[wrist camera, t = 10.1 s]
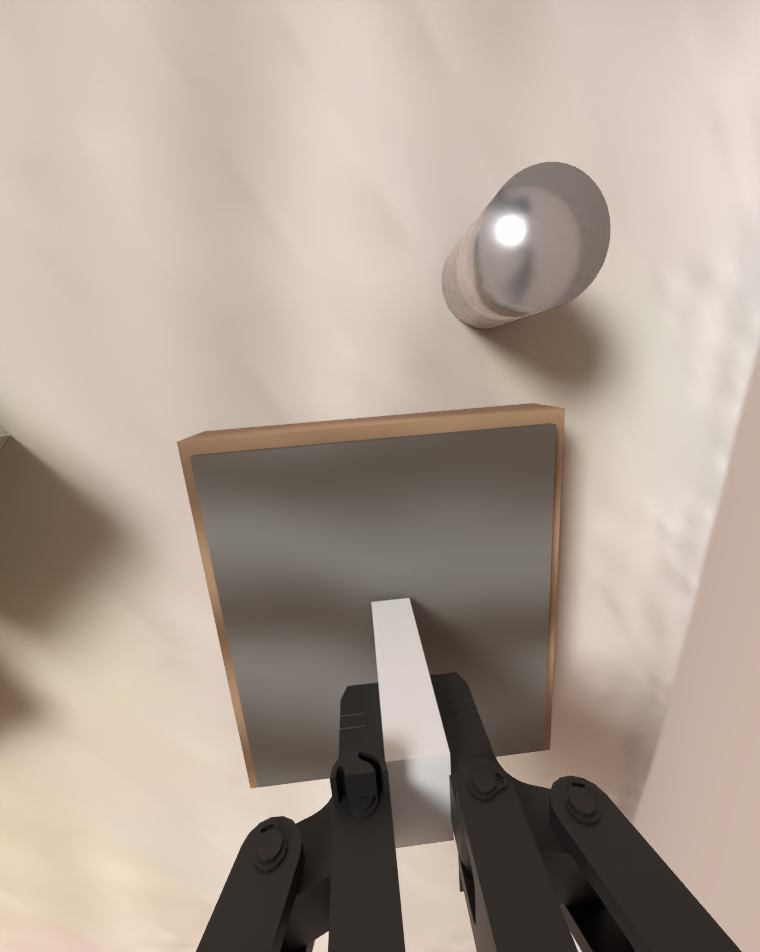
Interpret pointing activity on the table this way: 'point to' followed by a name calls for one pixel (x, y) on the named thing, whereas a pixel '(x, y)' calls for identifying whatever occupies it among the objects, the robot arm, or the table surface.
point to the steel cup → (529, 247)
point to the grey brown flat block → (379, 567)
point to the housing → (3, 437)
